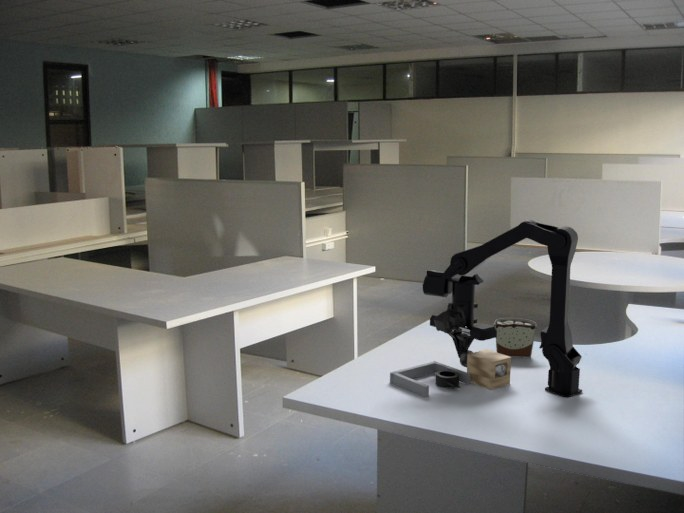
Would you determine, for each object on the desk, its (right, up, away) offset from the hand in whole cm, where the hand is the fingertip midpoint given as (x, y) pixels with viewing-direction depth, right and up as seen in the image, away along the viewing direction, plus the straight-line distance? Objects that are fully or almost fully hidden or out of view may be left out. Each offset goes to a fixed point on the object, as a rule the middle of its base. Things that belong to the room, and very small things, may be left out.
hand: (461, 358), depth 182 cm
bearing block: (+6, -5, -7) cm, 10 cm away
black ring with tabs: (-5, -6, -8) cm, 11 cm away
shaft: (+5, -3, -6) cm, 8 cm away
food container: (+17, -1, +17) cm, 24 cm away
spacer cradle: (-9, -5, -7) cm, 13 cm away
